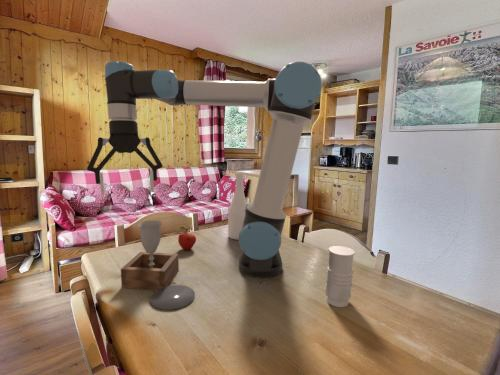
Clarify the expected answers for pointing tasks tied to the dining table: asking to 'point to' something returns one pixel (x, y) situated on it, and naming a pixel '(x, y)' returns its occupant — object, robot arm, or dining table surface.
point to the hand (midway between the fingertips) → (128, 193)
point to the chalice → (150, 237)
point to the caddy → (149, 271)
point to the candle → (339, 275)
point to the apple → (186, 240)
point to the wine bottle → (237, 209)
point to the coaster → (172, 297)
